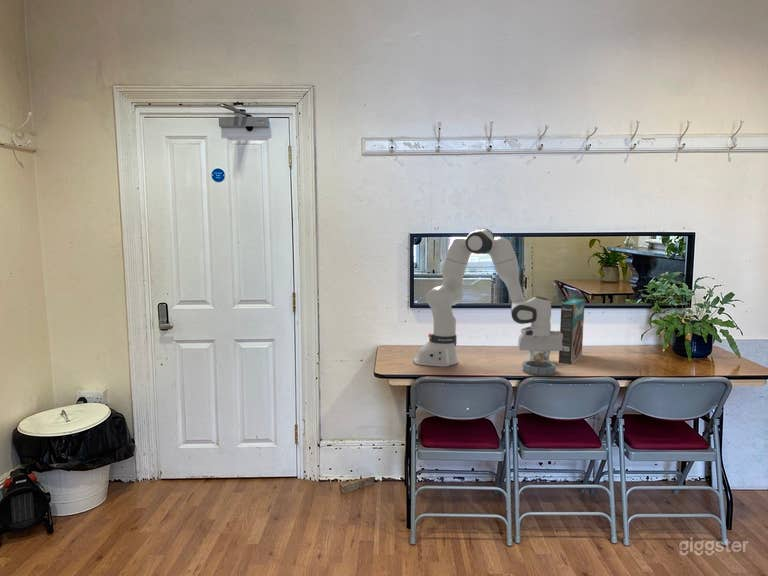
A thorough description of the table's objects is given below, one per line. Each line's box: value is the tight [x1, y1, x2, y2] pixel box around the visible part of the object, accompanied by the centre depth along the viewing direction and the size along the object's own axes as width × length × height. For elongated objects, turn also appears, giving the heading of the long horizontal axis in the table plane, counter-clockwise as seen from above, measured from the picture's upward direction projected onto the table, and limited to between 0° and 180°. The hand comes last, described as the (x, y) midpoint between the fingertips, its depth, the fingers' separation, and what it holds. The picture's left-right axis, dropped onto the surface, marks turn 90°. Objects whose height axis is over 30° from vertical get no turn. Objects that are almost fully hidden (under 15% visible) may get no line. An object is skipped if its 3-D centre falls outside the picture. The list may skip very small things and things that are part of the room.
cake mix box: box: [558, 298, 586, 365], centre depth 275 cm, size 22×6×30 cm, turn 146°
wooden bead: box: [535, 353, 544, 365], centre depth 252 cm, size 4×4×5 cm
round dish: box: [521, 359, 557, 377], centre depth 253 cm, size 15×15×4 cm
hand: (539, 359), depth 252 cm, fingers closed on wooden bead, 4 cm apart
